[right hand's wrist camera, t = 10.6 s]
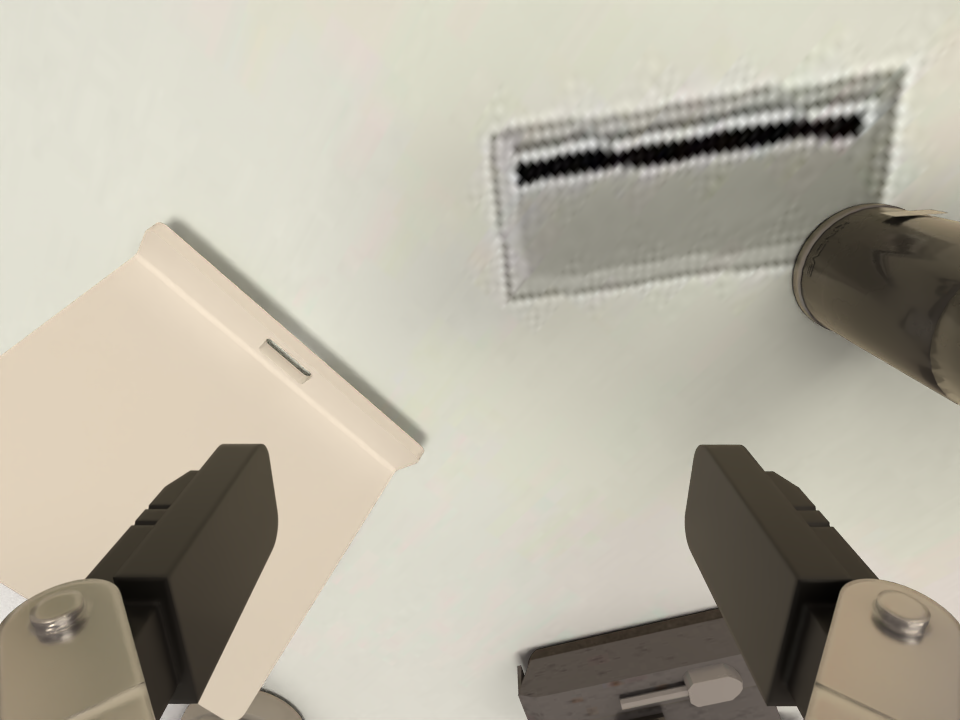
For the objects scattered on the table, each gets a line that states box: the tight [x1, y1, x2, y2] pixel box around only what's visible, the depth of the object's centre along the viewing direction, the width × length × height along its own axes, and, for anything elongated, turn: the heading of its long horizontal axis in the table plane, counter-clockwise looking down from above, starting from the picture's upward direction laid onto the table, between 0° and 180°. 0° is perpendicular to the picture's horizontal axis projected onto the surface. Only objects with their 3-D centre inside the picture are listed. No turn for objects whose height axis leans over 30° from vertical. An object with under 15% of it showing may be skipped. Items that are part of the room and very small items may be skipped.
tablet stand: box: [0, 222, 424, 720], centre depth 40 cm, size 18×25×17 cm
